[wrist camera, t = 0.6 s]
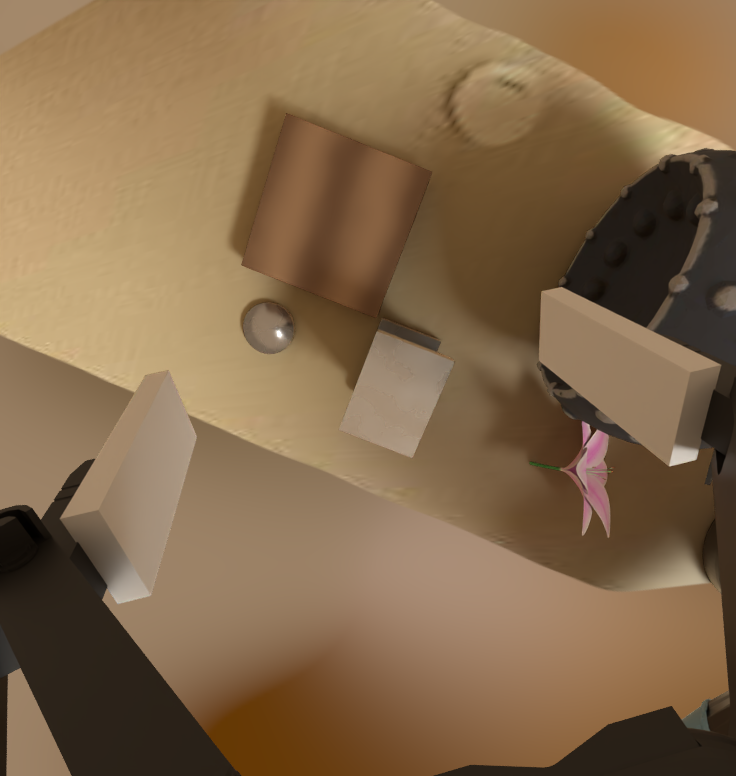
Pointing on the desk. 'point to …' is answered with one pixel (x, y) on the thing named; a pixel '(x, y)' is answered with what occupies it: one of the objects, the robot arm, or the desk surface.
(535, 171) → the desk surface
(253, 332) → the domed puck
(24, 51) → the desk surface
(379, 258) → the walnut stand
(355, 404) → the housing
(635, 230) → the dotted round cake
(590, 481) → the lily
